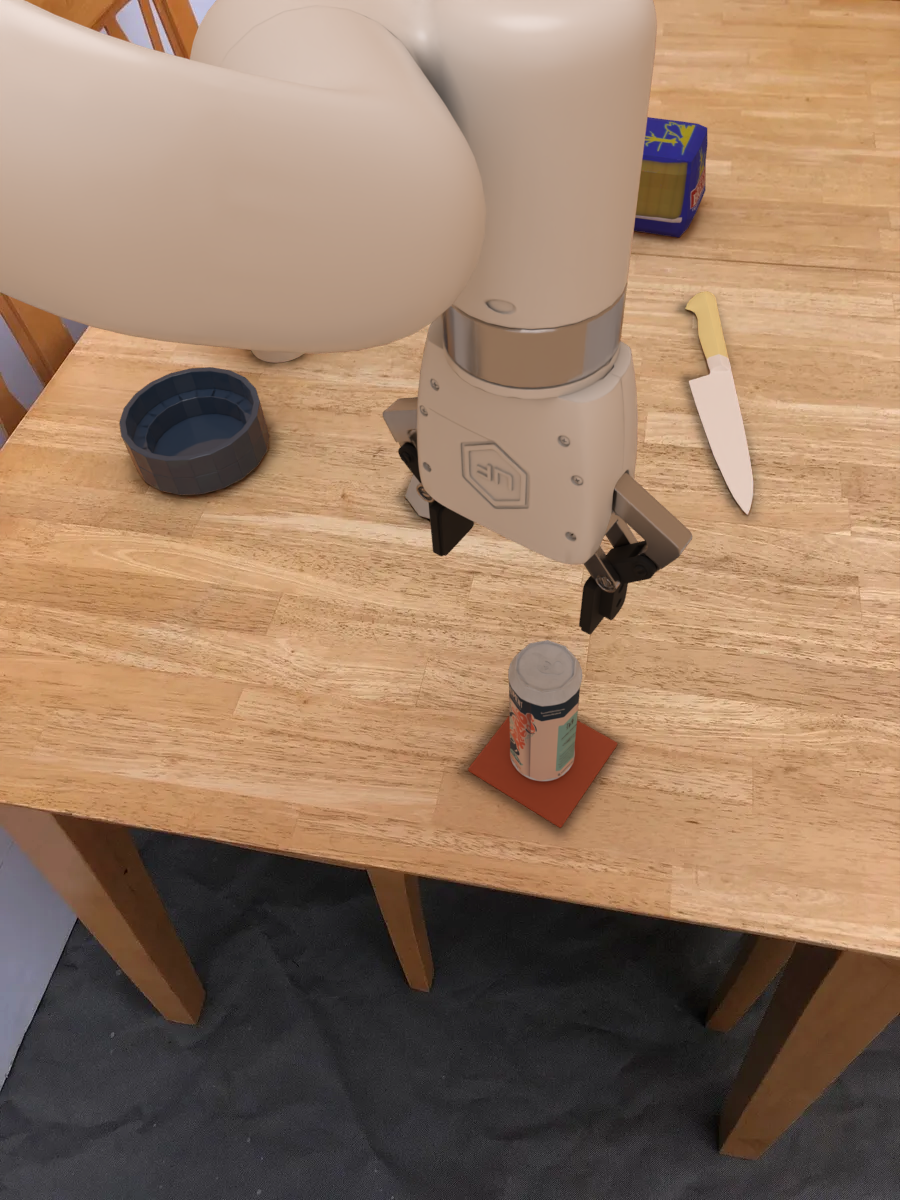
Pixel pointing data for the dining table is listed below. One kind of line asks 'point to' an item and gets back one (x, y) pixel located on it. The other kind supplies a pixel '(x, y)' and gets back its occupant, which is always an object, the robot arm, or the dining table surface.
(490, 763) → the mat
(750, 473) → the knife
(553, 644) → the beer can
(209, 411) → the bowl
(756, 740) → the dining table surface
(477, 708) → the dining table surface
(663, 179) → the bread
